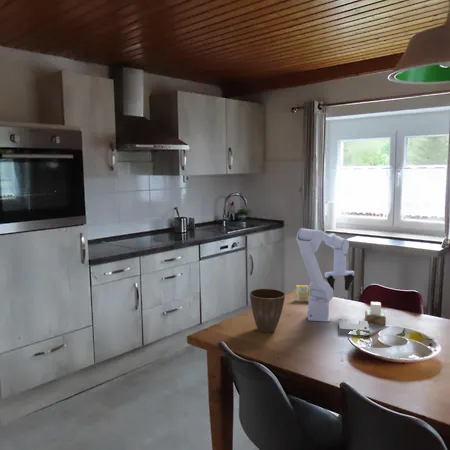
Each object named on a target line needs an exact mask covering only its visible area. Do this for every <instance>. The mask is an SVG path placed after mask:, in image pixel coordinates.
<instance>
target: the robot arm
mask: <svg viewBox="0 0 450 450" xmlns="http://www.w3.org/2000/svg"><path fill="white" fill-rule="evenodd" d="M295 239H296V242H297V245H298V247H299V252H300V256H301V258H302V261H303V264H304V266H305V269H306V271H307V275H308V277H309V280H310V283H309V285H308V287H309V294H310V296H311V297H312V299H309V301H308V303H307V304H308V310H307V321H315V322H325V323H326V322H328V323H330V318H331V317H330V302H331V300H332V299H333V297H334V294H335V293H334V292H335V281H336V278H335V277H344V290H345V291H346V292H348V291H349V289H350V285H351V283H352V281H353V280H354V276H355V273H356V272H355V271H354V270H347V255H348V253H349V247H350V242H349V240H348V239H347V238H344V237H341V236H340V235H336V233H334V232H331V233H326V232H325V231H323V230H320V229H311V228H304V227H300V228H299V229H298V230H297V234H296V237H295ZM322 242H324V243H325V244H326V246H328V247H331V248H332V250H333V270H331V271H327V272H324V277H325V279H326V280H325V279H324V277H323V275H322V272H321V269H320V266H319V263H318V260H317V257H316V255H315V253H316V252H317V251H318V249H319V247H320V245H321V243H322Z"/></svg>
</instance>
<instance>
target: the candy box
mask: <svg viewBox="0 0 450 450" xmlns="http://www.w3.org/2000/svg"><path fill="white" fill-rule="evenodd" d="M308 286H309V285H307V284H306V285H298V284H296V285H295V287H296V288H295V292H296V293H295V296H296V297H295V301H296V302H309V299H312V297H311V296H310V294H309V287H308Z"/></svg>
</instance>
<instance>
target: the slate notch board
mask: <svg viewBox="0 0 450 450" xmlns="http://www.w3.org/2000/svg"><path fill="white" fill-rule="evenodd" d="M369 325H370V324H368V321H366V320H358V324H357V323H348V319H344V318H342V319H341V318H339V319H338V330H339V331H338V333H339V335H347V334H348V333H349V332H350V331H353V330H356V329H359V328H364V327H369V328H367V329H361V330H360V331H363V332H366V333H369V334H370V333H371V329H370V326H369ZM347 336H348V335H347Z"/></svg>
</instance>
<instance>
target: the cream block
mask: <svg viewBox="0 0 450 450" xmlns="http://www.w3.org/2000/svg"><path fill="white" fill-rule="evenodd" d="M369 310H370V312H371V314H373V315H381V311H382V303H381V302H380V301H370V309H369Z"/></svg>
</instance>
